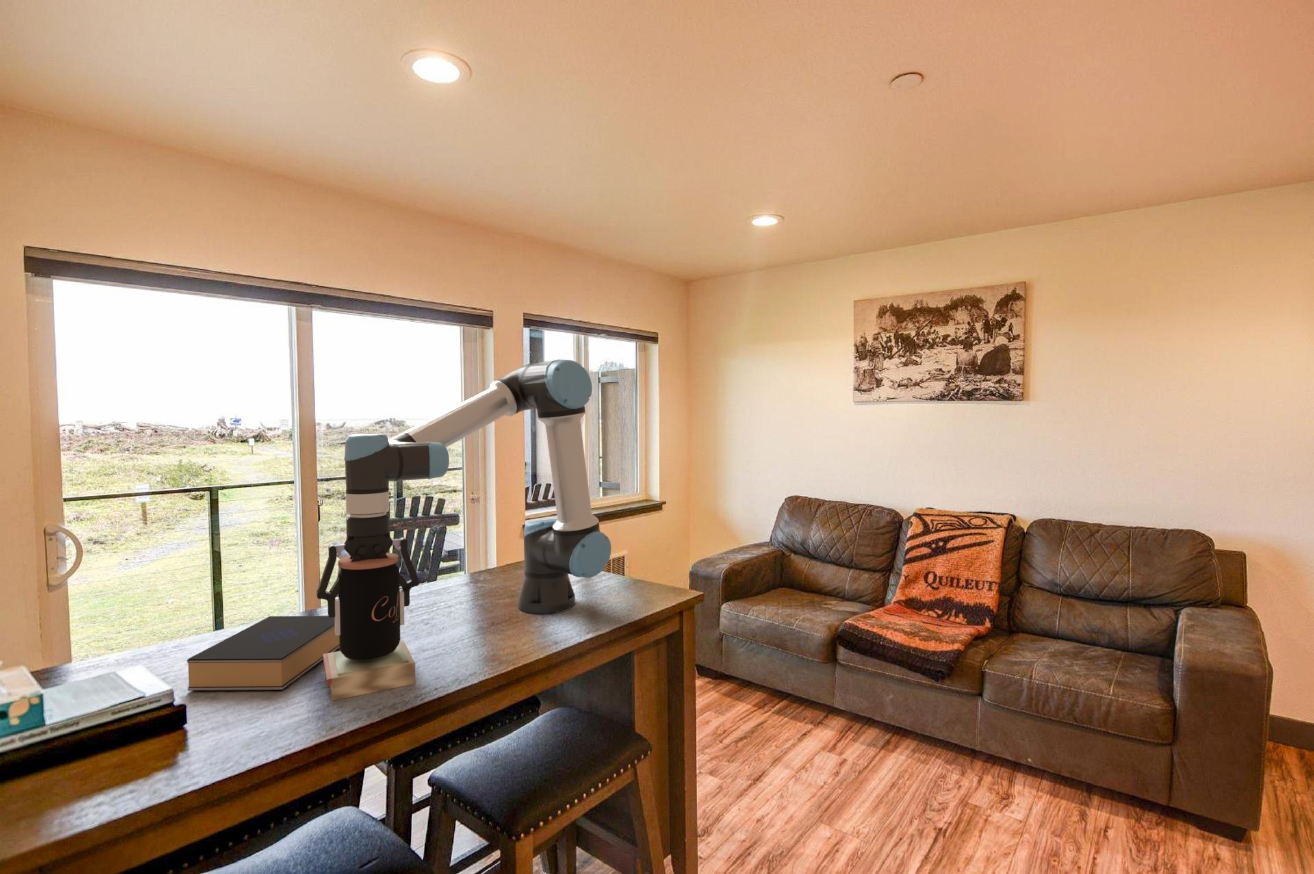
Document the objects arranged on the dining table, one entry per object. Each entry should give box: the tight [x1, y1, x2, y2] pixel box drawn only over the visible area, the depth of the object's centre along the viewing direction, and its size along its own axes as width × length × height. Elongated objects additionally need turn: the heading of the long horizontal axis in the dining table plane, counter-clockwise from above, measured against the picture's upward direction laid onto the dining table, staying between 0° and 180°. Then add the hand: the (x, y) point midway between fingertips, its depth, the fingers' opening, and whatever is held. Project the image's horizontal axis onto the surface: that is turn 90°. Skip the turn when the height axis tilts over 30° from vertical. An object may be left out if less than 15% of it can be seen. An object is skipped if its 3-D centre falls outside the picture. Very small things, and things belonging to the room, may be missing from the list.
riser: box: [322, 639, 416, 702], centre depth 120 cm, size 15×14×4 cm
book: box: [186, 615, 340, 692], centre depth 127 cm, size 17×25×7 cm
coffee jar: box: [337, 552, 401, 660], centre depth 120 cm, size 11×11×18 cm
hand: (370, 628), depth 120 cm, fingers closed on coffee jar, 10 cm apart
